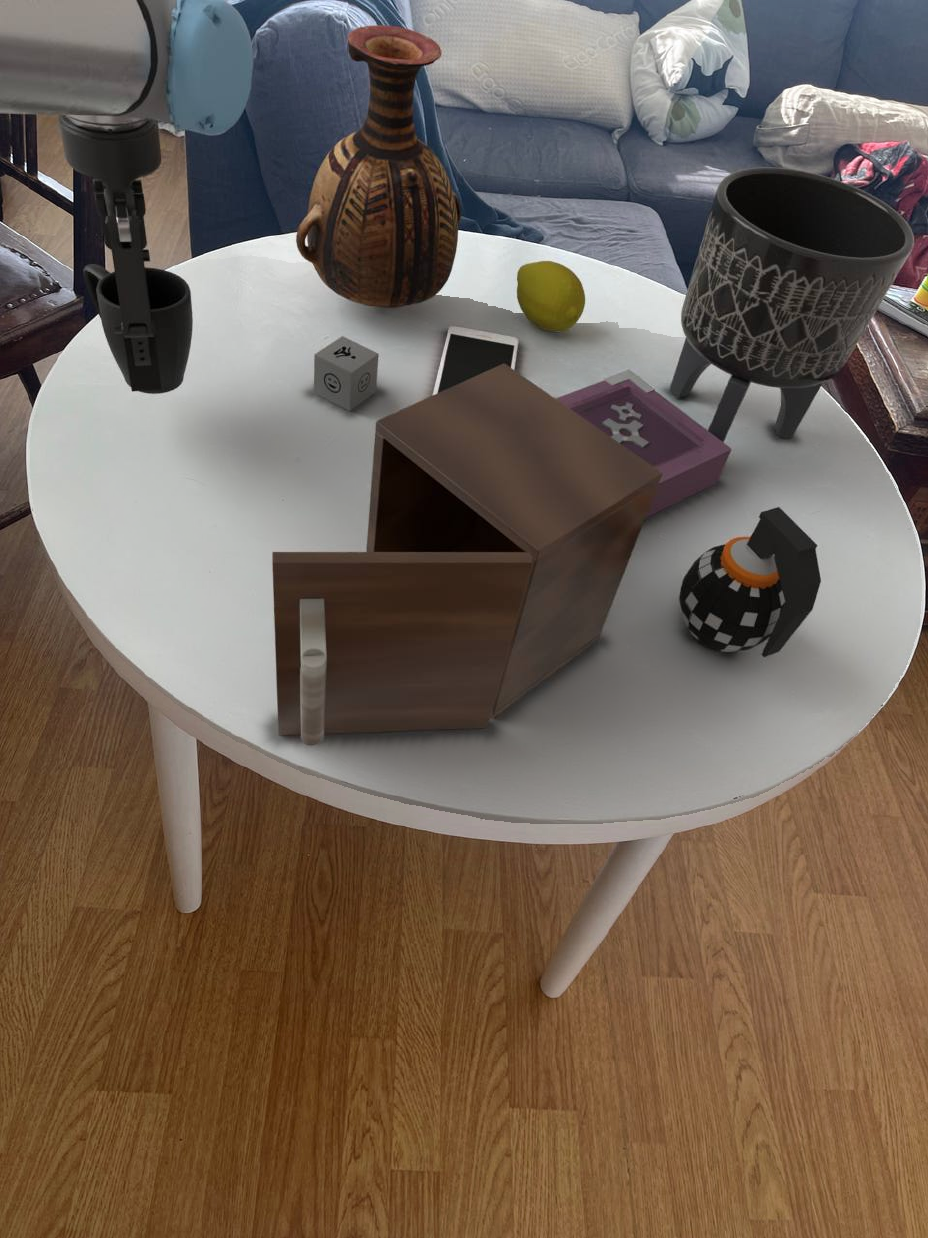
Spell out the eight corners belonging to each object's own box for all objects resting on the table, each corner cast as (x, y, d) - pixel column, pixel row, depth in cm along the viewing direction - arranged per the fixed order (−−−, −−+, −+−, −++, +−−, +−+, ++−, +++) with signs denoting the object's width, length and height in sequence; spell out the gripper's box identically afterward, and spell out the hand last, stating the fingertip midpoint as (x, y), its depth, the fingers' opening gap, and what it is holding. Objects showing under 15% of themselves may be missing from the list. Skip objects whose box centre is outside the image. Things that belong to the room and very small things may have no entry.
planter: (775, 386, 116) (872, 177, 96) (824, 488, 103) (948, 270, 83) (628, 374, 113) (697, 156, 93) (660, 477, 100) (748, 249, 80)
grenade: (796, 669, 84) (872, 556, 73) (718, 700, 80) (786, 586, 69) (721, 585, 90) (781, 468, 79) (646, 610, 86) (698, 492, 75)
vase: (439, 267, 124) (470, 16, 102) (475, 342, 113) (518, 79, 91) (282, 268, 118) (278, 3, 96) (304, 347, 107) (305, 68, 85)
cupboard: (492, 719, 76) (539, 550, 61) (362, 598, 82) (375, 420, 68) (598, 640, 83) (663, 472, 68) (470, 535, 90) (504, 362, 75)
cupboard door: (498, 789, 71) (549, 629, 56) (278, 800, 68) (271, 633, 53) (485, 718, 75) (530, 551, 61) (278, 725, 72) (272, 551, 58)
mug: (136, 330, 95) (124, 242, 88) (215, 381, 91) (209, 292, 84) (67, 357, 90) (49, 266, 83) (148, 412, 86) (136, 321, 79)
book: (618, 404, 108) (629, 369, 104) (717, 483, 101) (732, 447, 97) (450, 471, 96) (456, 433, 92) (549, 565, 89) (560, 528, 85)
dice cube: (340, 373, 105) (342, 335, 101) (376, 391, 103) (378, 353, 100) (314, 392, 102) (314, 354, 98) (349, 411, 100) (351, 372, 97)
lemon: (590, 341, 117) (606, 284, 111) (539, 350, 114) (553, 292, 108) (547, 298, 123) (560, 241, 117) (498, 306, 119) (508, 248, 113)
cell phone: (428, 415, 102) (429, 408, 101) (448, 331, 114) (449, 324, 113) (505, 429, 102) (507, 422, 101) (517, 344, 114) (519, 337, 113)
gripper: (169, 175, 66) (194, 424, 83) (146, 63, 80) (171, 295, 96) (59, 174, 64) (107, 429, 81) (54, 58, 78) (96, 297, 94)
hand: (142, 356), depth 88 cm, fingers closed on mug, 10 cm apart
